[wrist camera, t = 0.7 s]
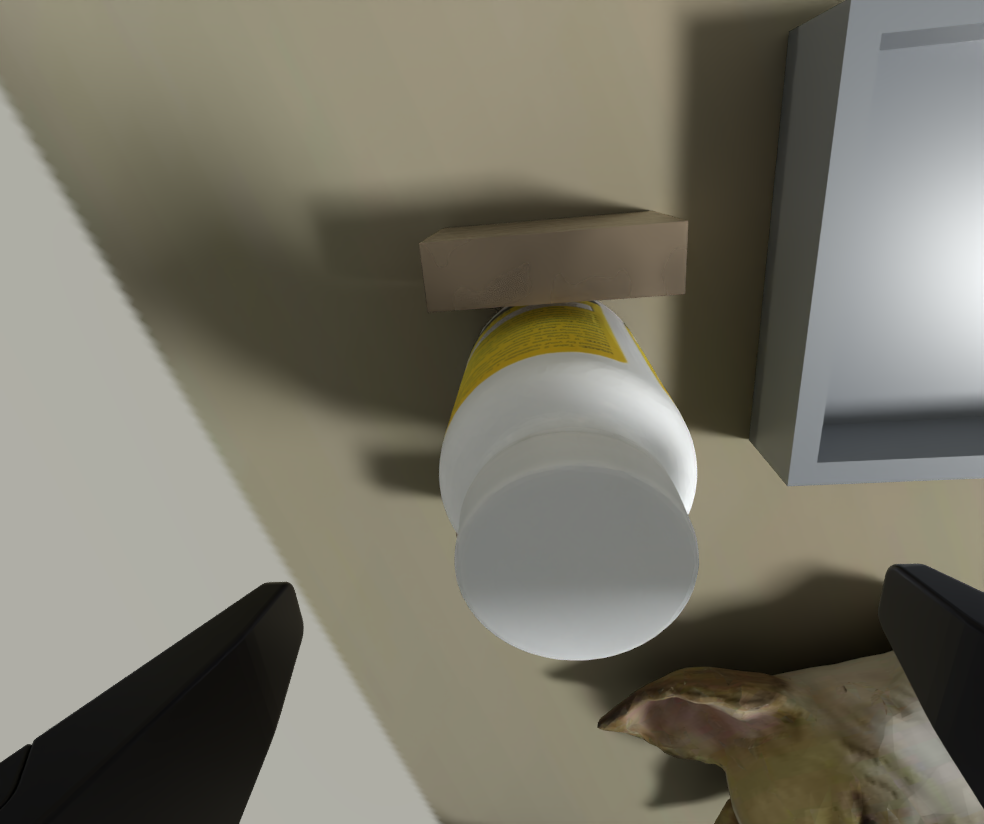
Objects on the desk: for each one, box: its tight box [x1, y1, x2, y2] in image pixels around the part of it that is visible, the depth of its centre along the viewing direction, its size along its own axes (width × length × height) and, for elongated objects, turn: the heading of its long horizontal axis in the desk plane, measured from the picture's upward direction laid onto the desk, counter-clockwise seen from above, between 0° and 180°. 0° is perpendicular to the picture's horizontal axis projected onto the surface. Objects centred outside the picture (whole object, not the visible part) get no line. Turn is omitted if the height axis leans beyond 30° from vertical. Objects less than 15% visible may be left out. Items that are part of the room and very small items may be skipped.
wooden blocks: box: [419, 211, 688, 536], centre depth 16 cm, size 9×6×4 cm, turn 5°
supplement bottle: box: [439, 301, 699, 660], centre depth 14 cm, size 5×5×10 cm
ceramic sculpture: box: [598, 651, 984, 824], centre depth 19 cm, size 11×9×15 cm
